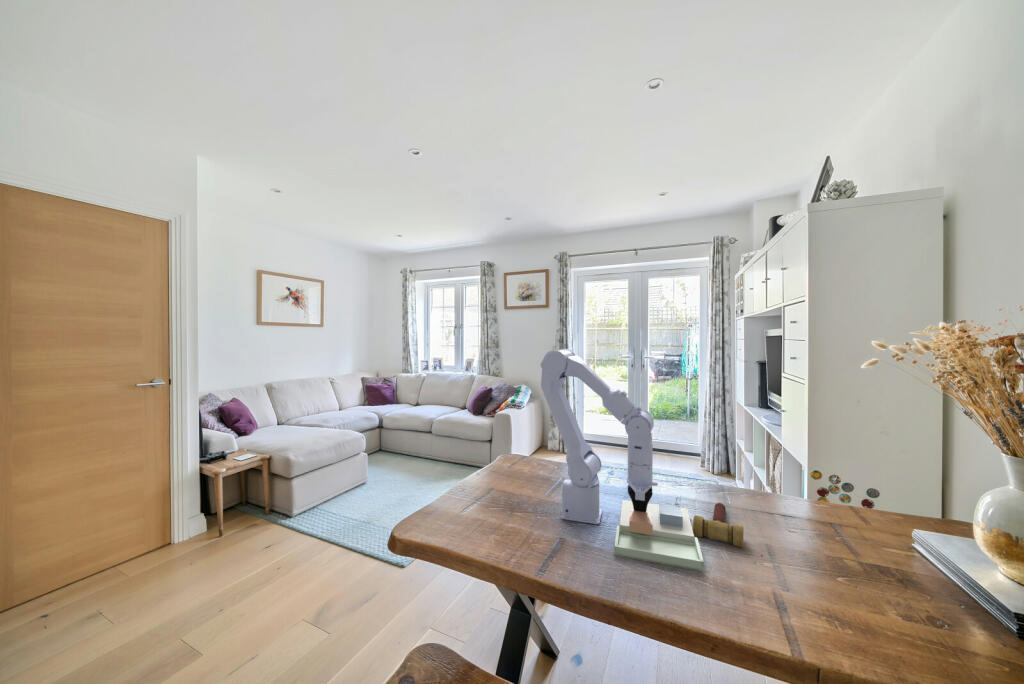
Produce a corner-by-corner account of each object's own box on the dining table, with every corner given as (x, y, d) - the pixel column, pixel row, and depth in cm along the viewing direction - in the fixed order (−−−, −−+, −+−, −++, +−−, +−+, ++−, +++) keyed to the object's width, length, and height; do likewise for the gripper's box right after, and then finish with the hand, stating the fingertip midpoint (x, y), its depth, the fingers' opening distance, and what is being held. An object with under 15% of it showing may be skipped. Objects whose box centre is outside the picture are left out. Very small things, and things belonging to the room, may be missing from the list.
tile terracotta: (629, 531, 86) (629, 521, 85) (629, 520, 90) (629, 510, 90) (652, 534, 84) (652, 524, 84) (651, 523, 89) (651, 513, 89)
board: (619, 533, 88) (619, 524, 88) (622, 507, 102) (622, 499, 102) (694, 545, 83) (694, 536, 83) (686, 516, 96) (686, 508, 96)
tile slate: (659, 523, 89) (659, 513, 89) (658, 514, 93) (658, 504, 93) (682, 527, 87) (682, 516, 87) (680, 517, 92) (680, 507, 92)
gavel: (700, 491, 104) (741, 499, 99) (699, 508, 104) (741, 517, 99) (692, 519, 86) (743, 530, 81) (692, 539, 86) (743, 551, 81)
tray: (614, 555, 80) (614, 546, 80) (617, 533, 88) (617, 525, 88) (703, 571, 74) (703, 561, 74) (697, 546, 83) (697, 537, 83)
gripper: (659, 474, 82) (659, 535, 82) (656, 454, 96) (656, 506, 96) (625, 471, 84) (625, 530, 85) (627, 451, 98) (627, 502, 98)
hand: (639, 517), depth 91 cm, fingers closed
